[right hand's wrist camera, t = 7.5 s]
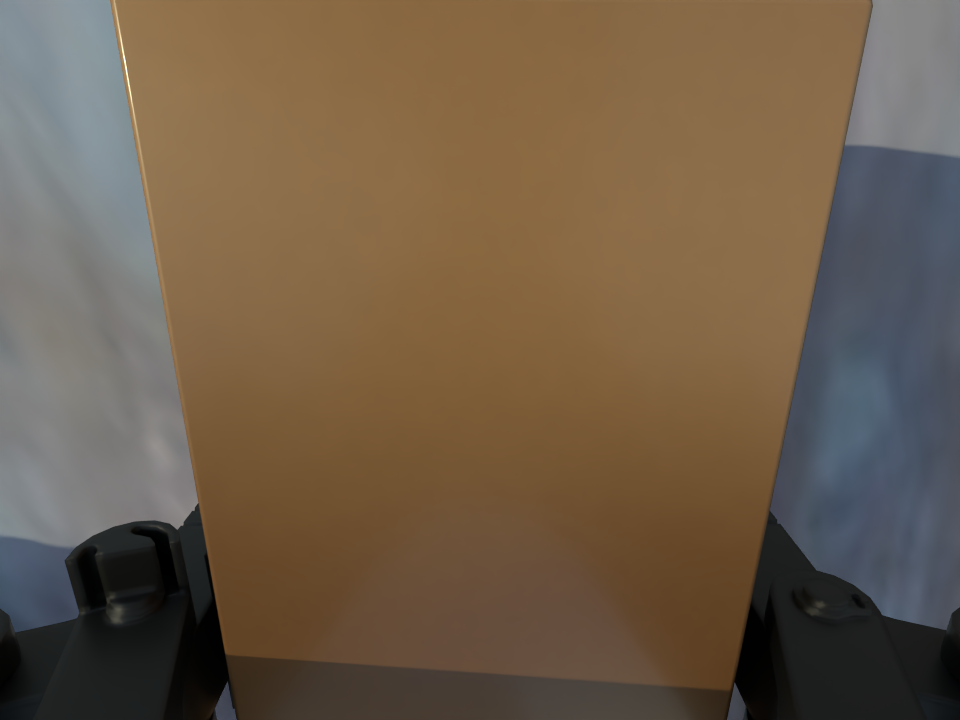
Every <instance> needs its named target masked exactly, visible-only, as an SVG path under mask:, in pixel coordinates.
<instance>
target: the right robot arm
mask: <svg viewBox="0 0 960 720" xmlns="http://www.w3.org/2000/svg"><path fill="white" fill-rule="evenodd" d="M65 563H66V567H67V570H68V574H69V577H70V581H71V584H72V588H73V591H74V595H75V598H76V602H77V605H78V609H79V612H80V613H79V616H78V618H76V619H73V620H70V621H66V622H62V623H57V624H53V625H48V626H44V627H39V628H35V629H30V630H26V631H21V632H17V633H15V631H14V629H13V626H12V623H11V620H10V617H9V615H7V614H6V613H5V612H4V611H2V610H1V609H0V720H217V717H216V712H215V707H216V704H217V702H218V700H219V698H220V696H221V694H222V692H223V689H224V687H225V685H226V683H227V681H228V685H229V690H230V695H231V701H232V706H233V709H235V707H234V701H233V695H232V690H231V684H230V678H229V673H228V667H227V661H226V656H225V650H224V644H223V638H222V633H221V627H220V621H219V616H218V610H217V604H216V599H215V593H214V587H213V582H212V576H211V570H210V565H209V559H208V553H207V548H206V542H205V536H204V531H203V525H202V519H201V514H200V508H199V503H198V504H197V506H196V507H195V511H192V512H191V513H190V515H189V516H188V517H187V519H186V520H185V521H184V525H183V526H180V528H179V529H178V530H177V529H175V528H174V527H173V526H172V525H171V524H168V523H164V522H159V521H137V522H131V523H127V524H123V525H119V526H115V527H112V528H110V529H108V530H105V531H103V532H101V533H98V534H96V535H94V536H92V537H90V538H89V539H88V540H86V541H85V542H83V543H82V544H80V545H79V546H77V547H76V548H75V549H74V550H73V551H72V552H71V554H70V555H69V556H68V557H67V558H66V560H65ZM735 683H736V686H737V688H738V690H739V692H740V694H741V696H742V698H743V701H744V703H745V705H746V707H745V712H744V717H743V720H960V608H958V609H957V610H956V611H954V612H953V613H952V615H951V618H950V621H949V624H948V627H947V630H942V629H938V628H933V627H929V626H924V625H919V624H915V623H910V622H906V621H901V620H897V619H893V618H890V617H886V616H883V615H882V614H881V612H880V611H879V609H878V608H877V607H876V605H875V604H874V602H873V601H872V600H871V598H870V597H868V596H867V595H866V594H865V593H863V592H862V591H861V590H859V589H858V588H857V587H856V586H854V585H852V584H850V583H848V582H846V581H844V580H842V579H840V578H838V577H836V576H834V575H830V574H827V573H823V572H820V571H816V569H815V568H814V567H813V565H812V564H811V563H810V562H809V560H808V559H807V558H806V556H805V555H804V554H803V553H802V551H801V550H800V549H799V548H798V546H797V545H796V544H795V542H794V541H793V540H792V539H791V537H790V536H789V535H788V533H787V532H786V531H785V530H784V528H783V527H782V526H781V524H777V519H776V518H775V517H774V515H773V514H772V513H771V512H770V511H769V516H768V521H767V526H766V531H765V535H764V540H763V545H762V550H761V555H760V560H759V565H758V570H757V575H756V579H755V584H754V589H753V594H752V599H751V604H750V609H749V614H748V619H747V623H746V628H745V633H744V638H743V643H742V648H741V653H740V658H739V663H738V667H737V672H736V677H735Z"/></svg>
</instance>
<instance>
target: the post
mask: <svg viewBox="0 0 960 720" xmlns="http://www.w3.org/2000/svg"><path fill="white" fill-rule="evenodd" d="M110 3H111V8H112V14H113V20H114V25H115V31H116V37H117V42H118V48H119V54H120V59H121V65H122V71H123V76H124V82H125V88H126V93H127V99H128V105H129V110H130V116H131V122H132V127H133V133H134V139H135V144H136V150H137V156H138V162H139V167H140V173H141V179H142V184H143V190H144V196H145V201H146V207H147V213H148V218H149V224H150V230H151V235H152V241H153V247H154V252H155V258H156V264H157V269H158V275H159V281H160V286H161V292H162V298H163V303H164V309H165V315H166V321H167V326H168V332H169V338H170V343H171V349H172V355H173V360H174V366H175V372H176V377H177V383H178V389H179V394H180V400H181V406H182V411H183V417H184V423H185V428H186V434H187V440H188V445H189V451H190V457H191V462H192V468H193V474H194V479H195V485H196V491H197V497H198V502H199V508H200V514H201V519H202V525H203V531H204V536H205V542H206V548H207V553H208V559H209V565H210V570H211V576H212V582H213V587H214V593H215V599H216V604H217V610H218V616H219V621H220V627H221V633H222V638H223V644H224V650H225V656H226V661H227V667H228V673H229V678H230V684H231V690H232V695H233V701H234V707H235V712H236V718H237V720H727V716H728V711H729V707H730V702H731V697H732V692H733V687H734V682H735V677H736V672H737V667H738V663H739V658H740V653H741V648H742V643H743V638H744V633H745V628H746V623H747V619H748V614H749V609H750V604H751V599H752V594H753V589H754V584H755V579H756V575H757V570H758V565H759V560H760V555H761V550H762V545H763V540H764V535H765V531H766V526H767V521H768V516H769V511H770V506H771V501H772V496H773V491H774V487H775V482H776V477H777V472H778V467H779V462H780V457H781V452H782V447H783V443H784V438H785V433H786V428H787V423H788V418H789V413H790V408H791V403H792V399H793V394H794V389H795V384H796V379H797V374H798V369H799V364H800V359H801V355H802V350H803V345H804V340H805V335H806V330H807V325H808V320H809V315H810V311H811V306H812V301H813V296H814V291H815V286H816V281H817V276H818V271H819V267H820V262H821V257H822V252H823V247H824V242H825V237H826V232H827V227H828V223H829V218H830V213H831V208H832V203H833V198H834V193H835V188H836V183H837V179H838V174H839V169H840V164H841V159H842V154H843V149H844V144H845V139H846V134H847V130H848V125H849V120H850V115H851V110H852V105H853V100H854V95H855V90H856V86H857V81H858V76H859V71H860V66H861V61H862V56H863V51H864V46H865V42H866V37H867V32H868V27H869V22H870V17H871V12H872V7H873V4H872V0H110Z"/></svg>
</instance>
